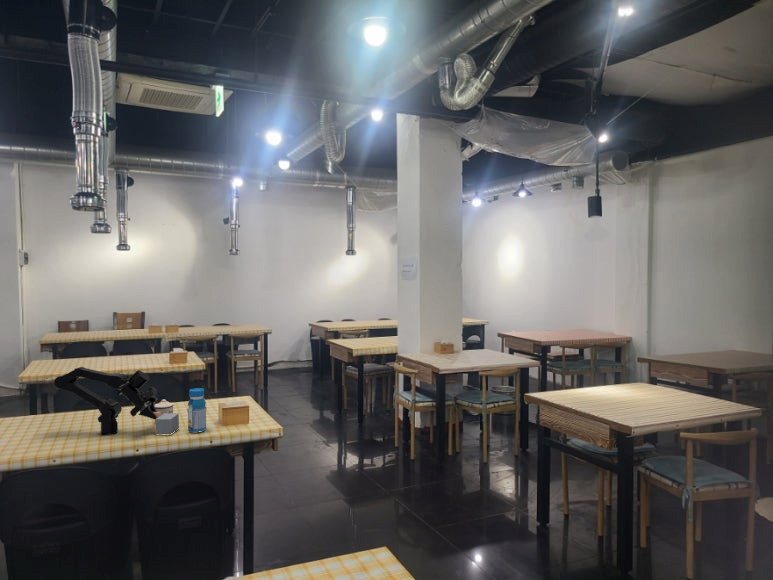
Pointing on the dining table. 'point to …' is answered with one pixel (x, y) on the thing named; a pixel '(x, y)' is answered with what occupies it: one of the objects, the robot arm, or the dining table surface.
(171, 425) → the carton
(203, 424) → the beverage bottle
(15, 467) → the dining table surface
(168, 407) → the teacup with lid
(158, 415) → the lid
